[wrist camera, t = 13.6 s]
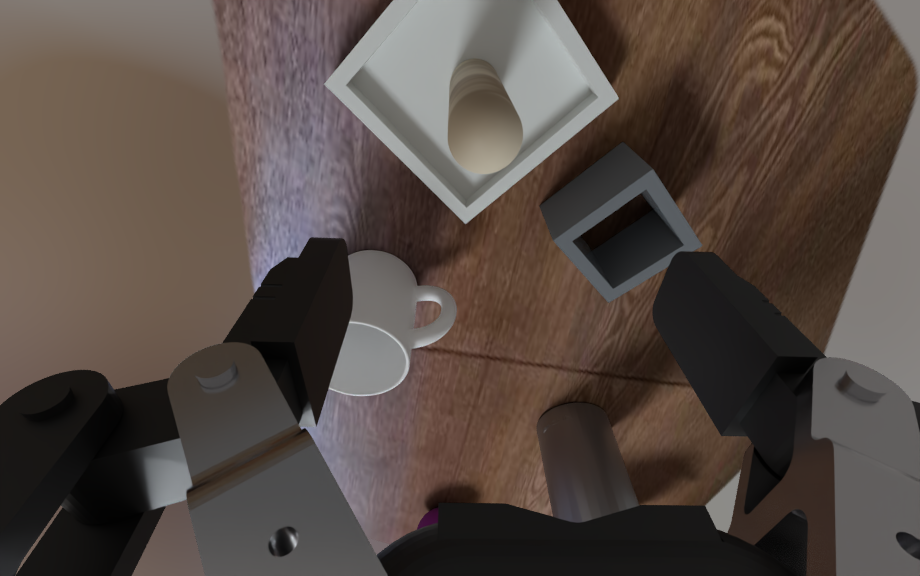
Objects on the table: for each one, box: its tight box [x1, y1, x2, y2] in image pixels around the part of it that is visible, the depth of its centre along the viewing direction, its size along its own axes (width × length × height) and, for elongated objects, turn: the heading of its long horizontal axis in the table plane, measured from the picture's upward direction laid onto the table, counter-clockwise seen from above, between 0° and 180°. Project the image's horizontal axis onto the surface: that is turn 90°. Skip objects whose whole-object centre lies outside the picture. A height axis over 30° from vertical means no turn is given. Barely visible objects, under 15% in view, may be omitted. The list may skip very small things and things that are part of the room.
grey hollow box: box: [540, 142, 702, 303], centre depth 33 cm, size 8×8×6 cm
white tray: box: [324, 0, 619, 224], centre depth 28 cm, size 14×14×2 cm
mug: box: [329, 250, 457, 396], centre depth 36 cm, size 12×8×10 cm
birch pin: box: [448, 58, 523, 174], centre depth 24 cm, size 4×4×12 cm
